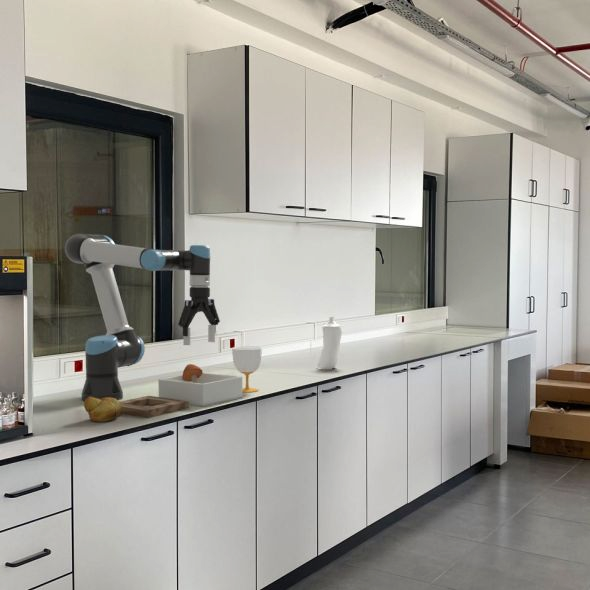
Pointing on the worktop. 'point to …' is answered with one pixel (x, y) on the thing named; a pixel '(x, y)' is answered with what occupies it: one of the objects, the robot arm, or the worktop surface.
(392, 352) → the worktop surface
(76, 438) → the worktop surface
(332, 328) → the spray can
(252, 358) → the cup
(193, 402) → the bin
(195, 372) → the mushroom
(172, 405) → the board
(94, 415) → the bread roll
